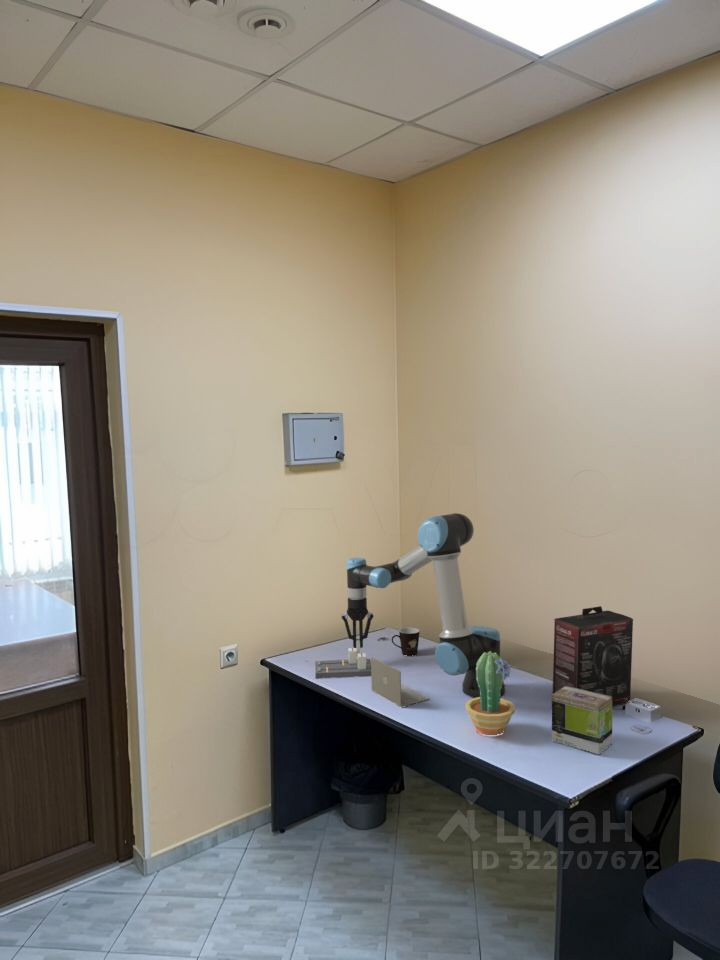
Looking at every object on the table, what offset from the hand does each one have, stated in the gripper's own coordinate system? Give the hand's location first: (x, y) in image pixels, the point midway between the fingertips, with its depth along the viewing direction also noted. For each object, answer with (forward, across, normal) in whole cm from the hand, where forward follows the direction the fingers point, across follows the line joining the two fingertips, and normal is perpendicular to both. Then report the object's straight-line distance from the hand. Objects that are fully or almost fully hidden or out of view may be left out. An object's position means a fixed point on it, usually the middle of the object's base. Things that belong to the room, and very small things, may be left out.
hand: (358, 655), depth 277 cm
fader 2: (+2, -1, +7) cm, 8 cm away
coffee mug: (+5, -21, -13) cm, 25 cm away
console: (+5, +6, +4) cm, 8 cm away
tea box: (+5, -62, +73) cm, 96 cm away
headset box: (+5, -77, +45) cm, 89 cm away
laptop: (+5, -13, +31) cm, 34 cm away
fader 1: (+2, +2, 0) cm, 3 cm away
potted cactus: (+5, -37, +62) cm, 73 cm away
